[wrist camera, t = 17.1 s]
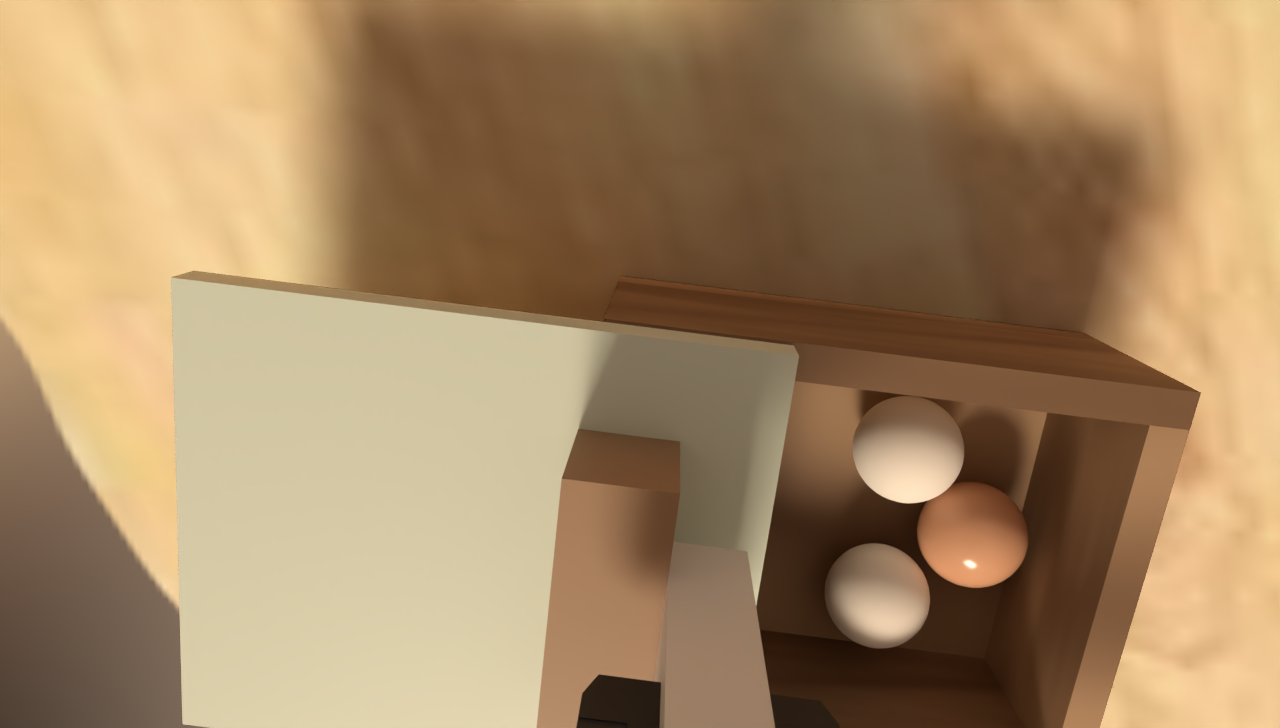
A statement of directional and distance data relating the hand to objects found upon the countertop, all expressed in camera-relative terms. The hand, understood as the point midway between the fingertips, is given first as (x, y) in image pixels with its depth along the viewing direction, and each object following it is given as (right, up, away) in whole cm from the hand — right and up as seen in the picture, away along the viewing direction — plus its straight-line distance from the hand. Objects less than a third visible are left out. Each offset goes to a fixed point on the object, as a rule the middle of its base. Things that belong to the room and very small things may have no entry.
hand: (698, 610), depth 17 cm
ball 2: (+5, -1, +7) cm, 9 cm away
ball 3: (+7, +1, +6) cm, 10 cm away
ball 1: (+5, +3, +6) cm, 8 cm away
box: (+4, +1, +7) cm, 8 cm away
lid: (-5, +1, +2) cm, 5 cm away
